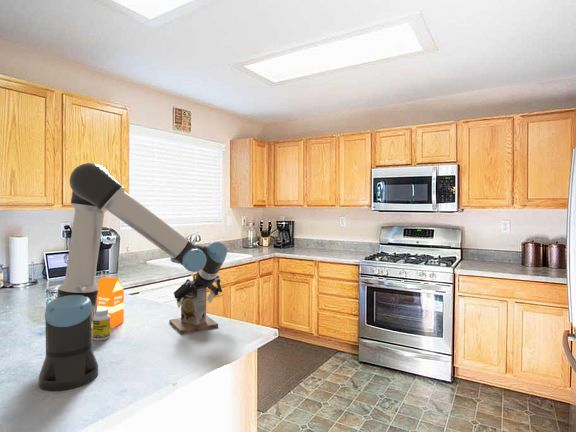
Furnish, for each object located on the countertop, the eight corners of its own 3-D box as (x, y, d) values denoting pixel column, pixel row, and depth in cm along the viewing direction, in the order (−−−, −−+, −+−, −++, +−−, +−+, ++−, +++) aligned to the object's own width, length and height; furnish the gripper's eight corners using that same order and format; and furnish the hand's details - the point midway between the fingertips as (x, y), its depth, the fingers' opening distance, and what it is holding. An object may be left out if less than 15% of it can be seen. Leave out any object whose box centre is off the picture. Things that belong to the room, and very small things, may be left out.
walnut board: (180, 334, 145) (180, 330, 145) (169, 323, 159) (169, 319, 159) (218, 327, 154) (218, 323, 154) (204, 317, 167) (204, 314, 167)
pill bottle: (90, 341, 137) (90, 312, 136) (94, 335, 142) (94, 307, 142) (108, 340, 138) (108, 311, 138) (111, 334, 144) (111, 306, 144)
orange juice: (112, 327, 153) (112, 279, 152) (93, 325, 154) (93, 278, 154) (124, 321, 160) (124, 276, 160) (106, 320, 162) (106, 275, 161)
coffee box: (180, 322, 156) (180, 284, 155) (191, 318, 161) (191, 282, 161) (196, 325, 151) (196, 287, 151) (206, 321, 157) (207, 284, 156)
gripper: (177, 284, 134) (166, 314, 147) (239, 277, 148) (223, 305, 161) (173, 267, 138) (162, 298, 151) (233, 262, 152) (218, 291, 165)
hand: (194, 302), depth 156 cm, fingers open, 13 cm apart
